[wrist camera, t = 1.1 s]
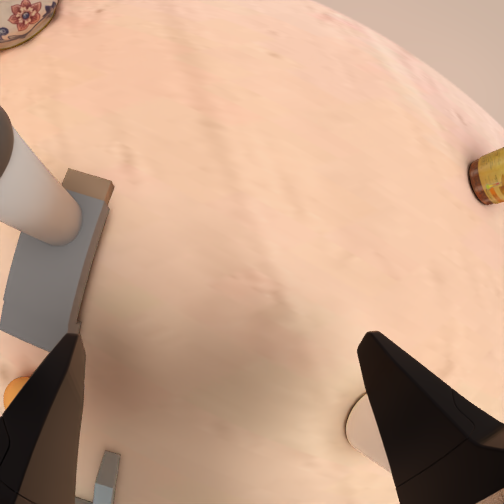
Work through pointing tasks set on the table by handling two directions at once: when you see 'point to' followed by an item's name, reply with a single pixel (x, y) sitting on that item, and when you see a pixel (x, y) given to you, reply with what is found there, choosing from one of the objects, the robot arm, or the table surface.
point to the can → (366, 433)
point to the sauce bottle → (489, 177)
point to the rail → (88, 185)
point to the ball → (13, 390)
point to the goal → (105, 480)
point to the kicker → (44, 244)
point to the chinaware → (23, 20)
